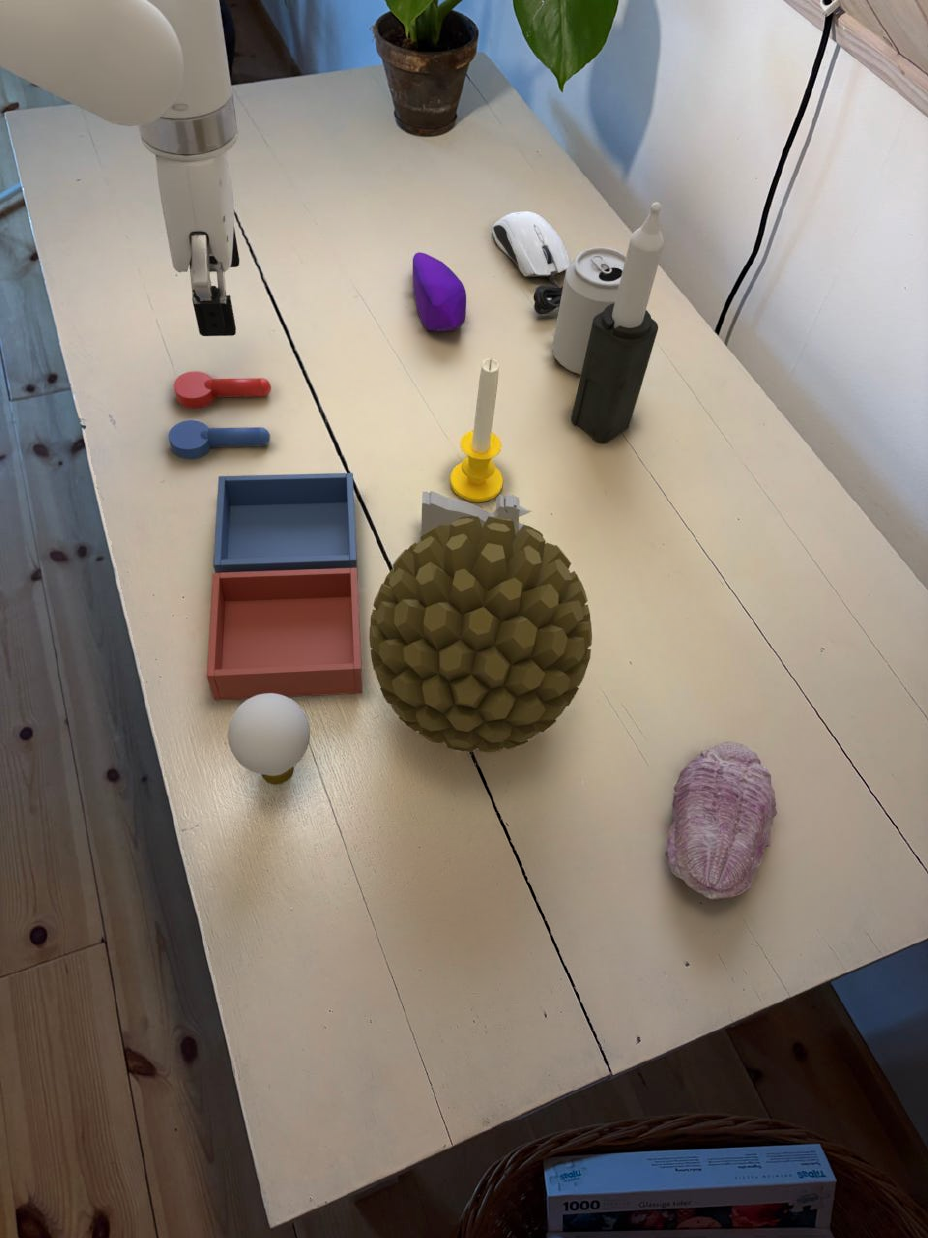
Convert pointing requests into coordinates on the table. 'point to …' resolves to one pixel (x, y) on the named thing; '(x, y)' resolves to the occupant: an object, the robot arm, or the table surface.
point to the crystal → (438, 294)
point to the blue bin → (285, 522)
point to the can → (585, 301)
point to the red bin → (284, 633)
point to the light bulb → (269, 736)
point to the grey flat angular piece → (466, 510)
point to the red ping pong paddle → (215, 388)
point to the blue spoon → (211, 438)
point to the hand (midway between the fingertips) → (220, 298)
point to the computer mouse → (534, 253)
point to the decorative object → (480, 635)
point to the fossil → (721, 820)
